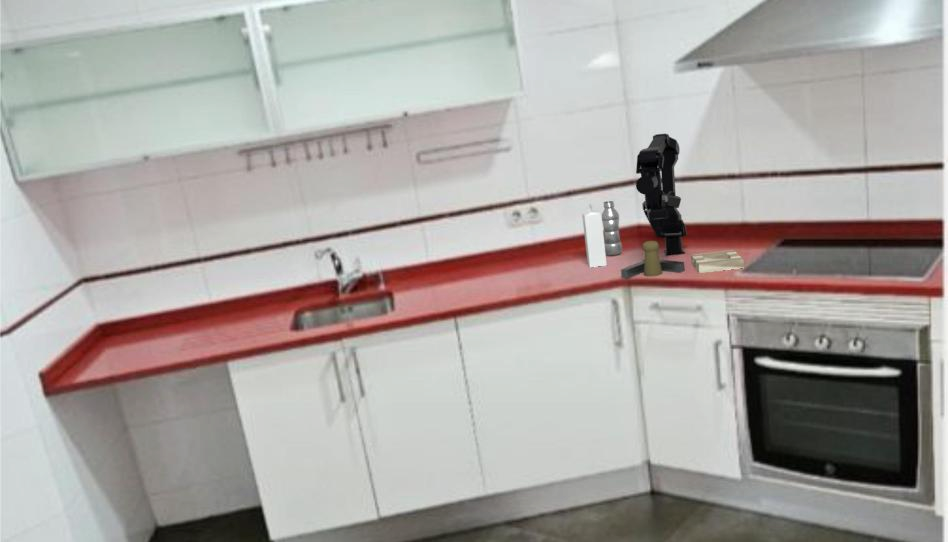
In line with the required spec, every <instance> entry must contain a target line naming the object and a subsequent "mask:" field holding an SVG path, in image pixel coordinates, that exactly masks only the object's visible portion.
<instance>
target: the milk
mask: <svg viewBox="0 0 948 542" xmlns="http://www.w3.org/2000/svg"><path fill="white" fill-rule="evenodd" d="M588 204H589V205H588V206H589V208H588V209H586V210H585V211H584V212H582V213H581V214H582V222H583V223H582V224H583V232H584V243H585V251H586V259H587V260H586V261H587V265H588V267H589V268H590V269H592V268H591V267H594V268H599V267H598V266H602V267H607V266H608V265H607V254H606V253H605V245H604V243H605V234H604V227H603V223H602V216H601V215H602V213H601V212H600V211H599V210H597V209H594V208H593V205H591V203H588ZM606 265H607V266H606Z"/></svg>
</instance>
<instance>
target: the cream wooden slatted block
mask: <svg viewBox="0 0 948 542" xmlns="http://www.w3.org/2000/svg"><path fill="white" fill-rule="evenodd" d="M690 259H691V261H690V262H691V264H692V266H693V267H694V268H695V270H696V272H697V273H699V274H706V273H707V272H708V273H715V271H716V272H724V271H723V270H725V271H732V270H731V269H734V270H741V269H740V268H743V269H745V263H744V258H743V257H741V255H739V253H737V251H735V249H730V250H729V249H728V250H721V251H712V252H704V253H695V254H691V255H690ZM708 273H707V274H708Z"/></svg>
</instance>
